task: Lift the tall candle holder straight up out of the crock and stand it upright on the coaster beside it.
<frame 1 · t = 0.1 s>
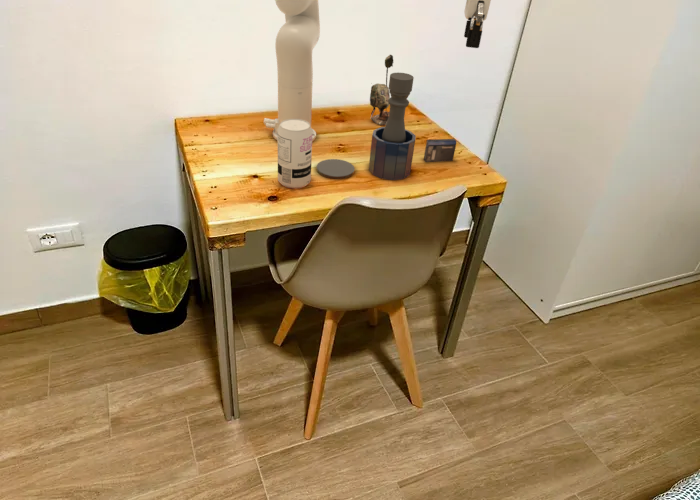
hand: (471, 42, 132), 31 cm above the table, tool pointing down, fingers open, 9 cm apart
crock: (389, 170, 140), on the table
supplement can: (294, 182, 131), on the table
mini dv tape: (438, 161, 148), on the table
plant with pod: (381, 121, 168), on the table
coaster: (335, 170, 138), on the table
candle holder: (389, 170, 140), resting in crock
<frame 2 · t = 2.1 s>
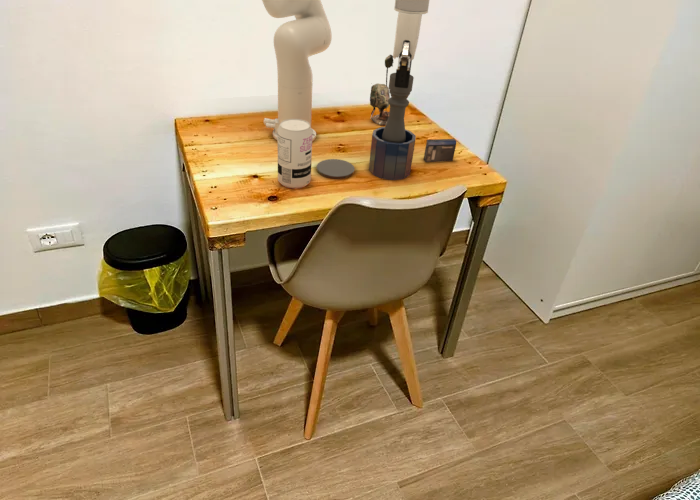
hand: (402, 81, 126), 24 cm above the table, tool pointing down, fingers open, 9 cm apart
nothing on the table moved.
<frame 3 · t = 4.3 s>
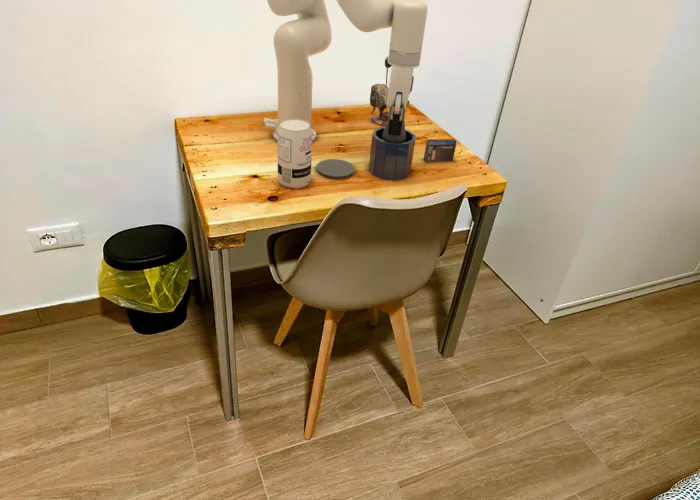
hand: (395, 129, 134), 11 cm above the table, tool pointing down, fingers closed on candle holder, 4 cm apart
candle holder: (389, 170, 140), resting in crock, touching gripper
everything else where it was.
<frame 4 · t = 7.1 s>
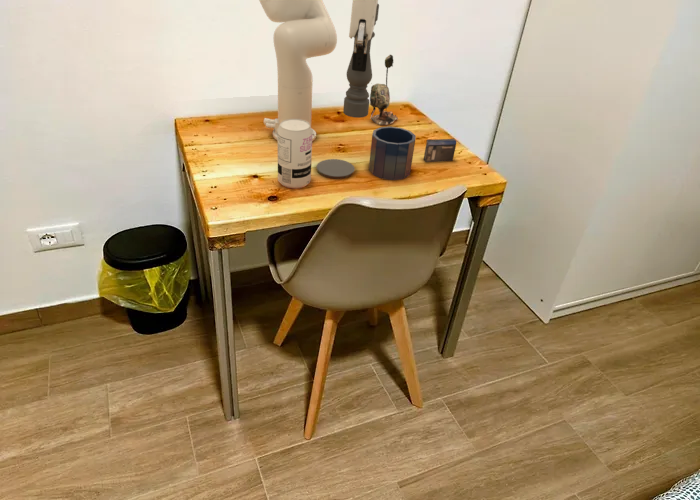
hand: (360, 66, 123), 27 cm above the table, tool pointing down, fingers closed on candle holder, 4 cm apart
candle holder: (355, 113, 130), point 15 cm above the table, touching gripper
everything else where it was.
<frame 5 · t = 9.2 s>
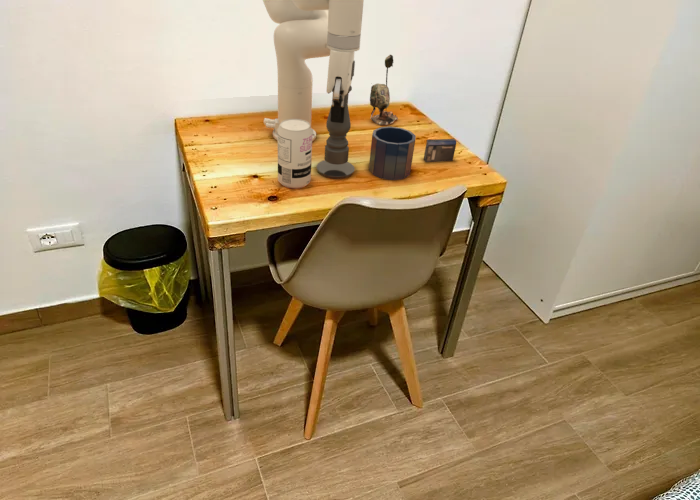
hand: (338, 117, 130), 15 cm above the table, tool pointing down, fingers closed on candle holder, 4 cm apart
candle holder: (336, 159, 136), point 3 cm above the table, touching gripper
everything else where it was.
when the fingers open (12 cm above the table, at t = 10.3 s): candle holder stays where it is, resting on coaster.
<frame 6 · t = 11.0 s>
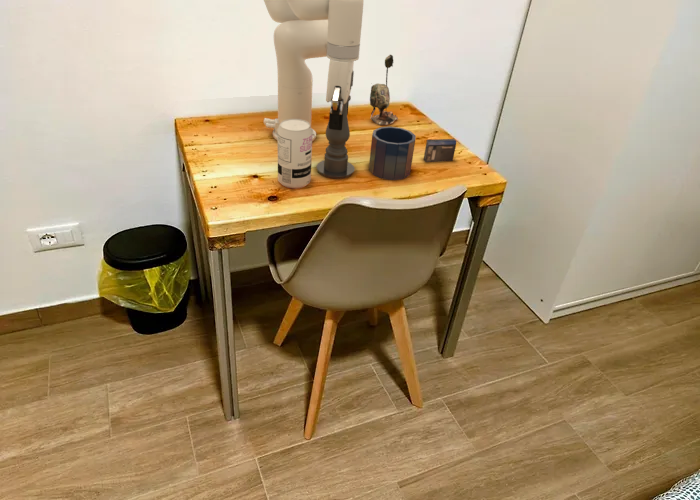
hand: (338, 121, 130), 13 cm above the table, tool pointing down, fingers open, 9 cm apart
candle holder: (335, 167, 138), point 1 cm above the table, touching coaster
everything else where it was.
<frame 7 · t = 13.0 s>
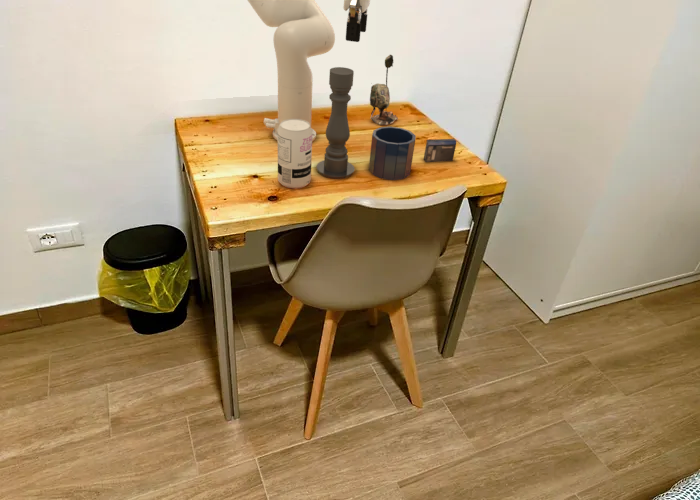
hand: (355, 35, 124), 32 cm above the table, tool pointing down, fingers open, 9 cm apart
nothing on the table moved.
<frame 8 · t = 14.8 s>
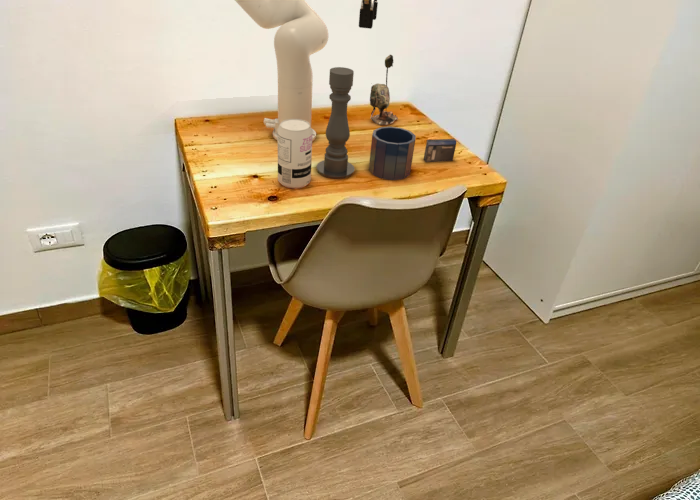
hand: (367, 23, 128), 34 cm above the table, tool pointing down, fingers open, 9 cm apart
nothing on the table moved.
at the end: candle holder 0.1 cm off-centre on the coaster, point 0.6 cm above the coaster's base; candle holder tilted 0°; the gripper is holding nothing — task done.
